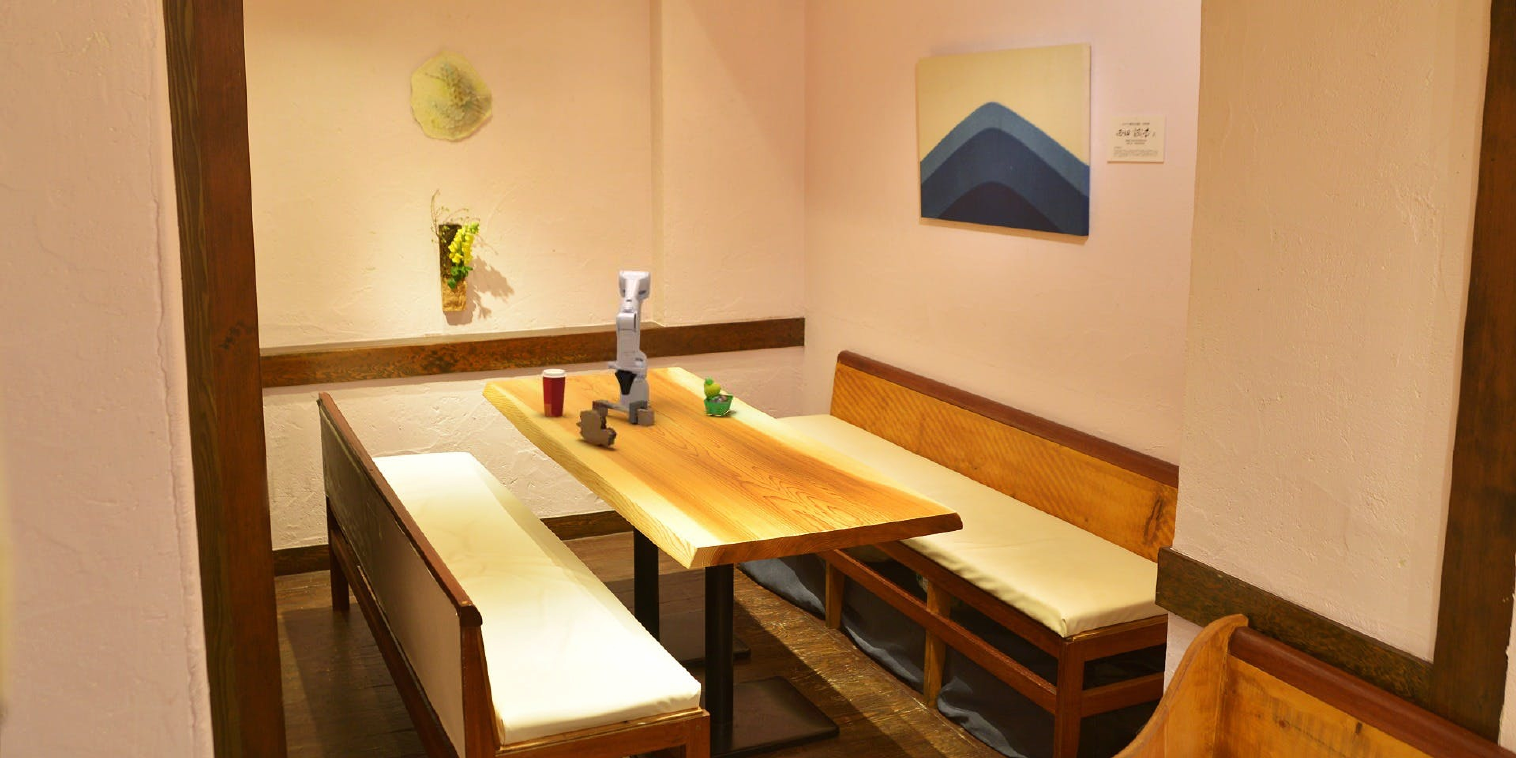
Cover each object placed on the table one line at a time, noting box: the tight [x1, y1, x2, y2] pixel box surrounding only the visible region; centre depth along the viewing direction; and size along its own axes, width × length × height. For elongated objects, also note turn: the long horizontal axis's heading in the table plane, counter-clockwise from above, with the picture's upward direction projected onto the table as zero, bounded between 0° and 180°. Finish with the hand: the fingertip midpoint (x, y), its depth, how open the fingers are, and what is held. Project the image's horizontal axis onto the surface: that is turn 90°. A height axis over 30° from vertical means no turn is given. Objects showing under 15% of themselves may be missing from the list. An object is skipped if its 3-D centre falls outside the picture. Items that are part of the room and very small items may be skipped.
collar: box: [628, 400, 648, 424], centre depth 396 cm, size 2×6×6 cm, turn 144°
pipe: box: [591, 399, 655, 427], centre depth 399 cm, size 22×4×5 cm, turn 54°
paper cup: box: [540, 368, 567, 418], centre depth 401 cm, size 8×8×14 cm
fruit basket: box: [703, 377, 734, 417], centre depth 412 cm, size 11×9×11 cm
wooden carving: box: [575, 409, 618, 447], centre depth 368 cm, size 16×5×10 cm, turn 48°
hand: (625, 394), depth 398 cm, fingers closed
